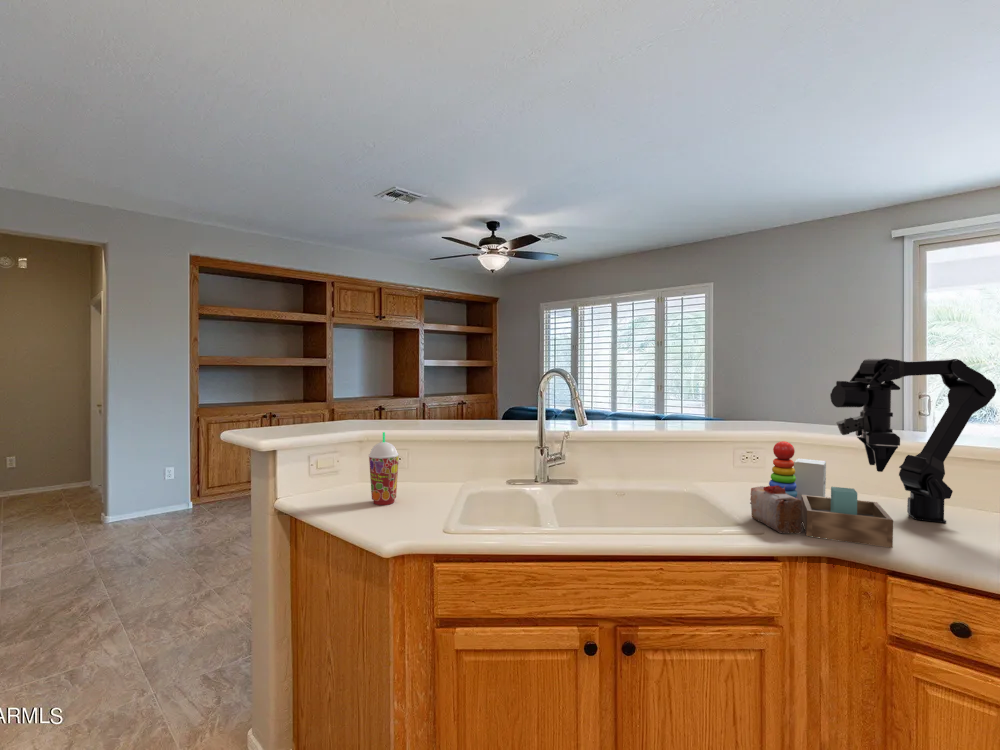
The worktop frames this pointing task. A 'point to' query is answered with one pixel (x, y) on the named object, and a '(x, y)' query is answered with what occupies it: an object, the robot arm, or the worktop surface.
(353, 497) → the worktop surface
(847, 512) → the peg
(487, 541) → the worktop surface
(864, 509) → the bore box
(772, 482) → the stacking toy
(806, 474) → the supplement box
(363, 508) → the worktop surface
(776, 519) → the weathered brown brick
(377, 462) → the smoothie
